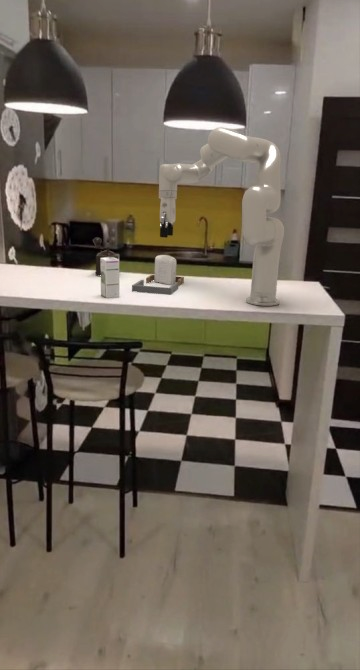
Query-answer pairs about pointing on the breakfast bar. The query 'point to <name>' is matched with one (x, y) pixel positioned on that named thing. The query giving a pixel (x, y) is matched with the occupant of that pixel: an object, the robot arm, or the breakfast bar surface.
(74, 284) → the breakfast bar surface
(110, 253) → the twin bell alarm clock
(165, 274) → the photo printer
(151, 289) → the bay
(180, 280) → the dock
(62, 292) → the breakfast bar surface
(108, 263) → the syrup box
